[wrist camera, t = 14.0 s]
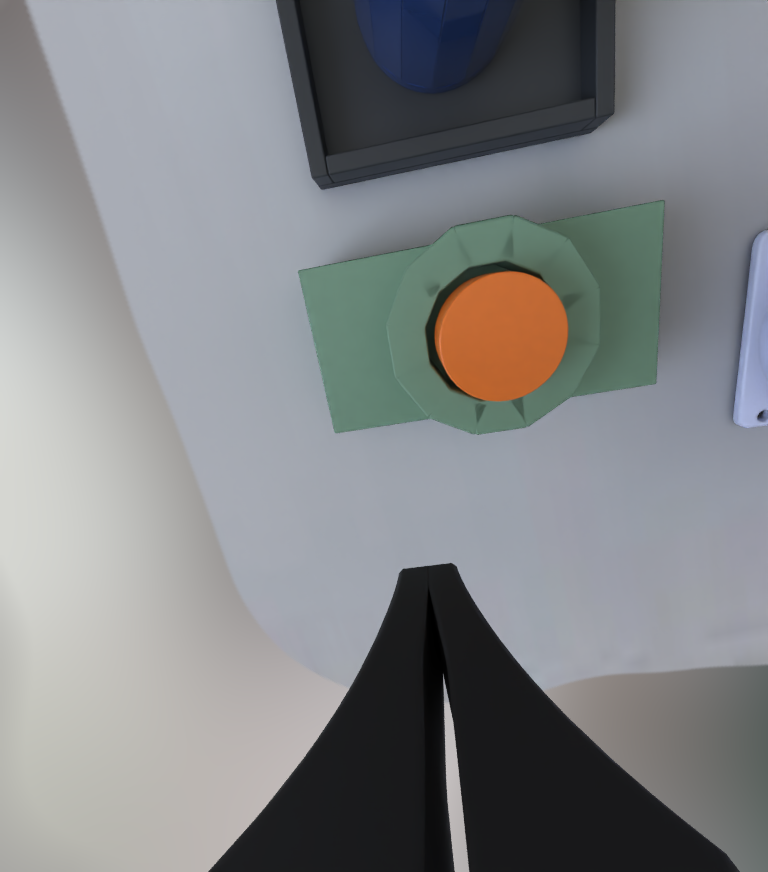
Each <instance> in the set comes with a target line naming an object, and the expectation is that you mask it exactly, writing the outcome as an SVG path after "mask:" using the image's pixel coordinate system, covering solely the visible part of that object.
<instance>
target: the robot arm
mask: <svg viewBox="0 0 768 872" xmlns="http://www.w3.org/2000/svg"><path fill="white" fill-rule="evenodd" d="M761 411H763V413H762V415H761V416H760V417H759V418H757V416H758V414H759V413H760V412H761ZM733 420H734V422H735V423H736V424H737V425H739V426H742V427H744V428H752V427H759V426H766V425H768V229H767V230H765V231H762V232H761V233H760V234H758V235H757V237H756V238H755V240H754V242H753V245H752V253H751V262H750V271H749V280H748V289H747V298H746V307H745V316H744V325H743V334H742V342H741V351H740V360H739V369H738V378H737V387H736V396H735V405H734V414H733ZM443 674H444V679H445V684H446V689H447V694H448V698H449V703H450V708H451V713H452V718H453V722H454V730H455V740H456V749H457V758H458V767H459V777H460V786H461V796H462V805H463V813H464V824H465V834H466V843H467V852H468V862H469V872H740V871H739V870H738V869H737V867H736V866H735V865H734V864H733V862H732V861H731V860H730V858H729V857H728V856H727V854H726V853H724V852H723V851H722V850H721V849H719V848H718V847H717V846H715V845H714V844H713V843H712V842H710V841H709V840H708V839H707V838H705V837H704V836H703V835H702V834H700V833H699V832H698V831H696V830H695V829H694V828H693V827H691V826H690V825H689V824H687V823H686V822H685V821H684V820H683V819H681V818H680V817H679V816H678V815H676V814H675V813H674V812H673V811H672V810H670V809H669V808H668V807H667V806H666V805H664V804H663V803H662V802H661V801H659V800H658V799H657V798H656V797H655V796H654V795H652V794H651V793H650V792H649V791H648V790H647V789H645V788H644V787H643V786H642V785H641V784H639V783H638V782H637V781H636V780H635V779H634V778H633V777H632V776H630V775H629V774H628V773H627V772H626V771H625V770H623V769H622V768H621V767H620V766H619V765H618V764H617V763H615V762H614V761H613V760H612V759H611V758H610V757H609V756H608V755H607V754H606V753H605V752H604V751H603V750H602V749H601V748H600V747H599V746H597V745H596V744H595V743H594V742H593V741H592V740H591V739H590V738H589V737H588V736H587V735H586V734H585V733H584V732H583V731H582V730H581V729H580V728H578V727H577V726H576V725H575V724H574V723H573V722H572V721H571V720H570V719H569V718H568V717H567V716H566V715H565V714H564V713H563V712H562V711H561V710H560V709H559V708H558V707H557V706H556V705H555V703H554V702H553V701H552V700H551V699H550V698H549V697H548V696H547V695H546V694H545V693H544V692H543V691H542V690H541V688H540V687H539V686H538V685H537V684H536V683H535V682H534V681H533V680H532V678H531V677H530V676H529V675H528V674H527V673H526V671H525V670H524V669H523V668H522V667H521V666H520V664H519V663H518V662H517V661H516V659H515V658H514V657H513V656H512V654H511V653H510V652H509V651H508V649H507V648H506V647H505V645H504V644H503V643H502V642H501V640H500V639H499V638H498V636H497V635H496V634H495V632H494V631H493V629H492V628H491V627H490V625H489V624H488V622H487V621H486V619H485V618H484V616H483V615H482V613H481V612H480V610H479V609H478V607H477V606H476V604H475V602H474V601H473V599H472V597H471V596H470V594H469V592H468V590H467V589H466V587H465V585H464V583H463V581H462V579H461V577H460V574H459V572H458V569H457V567H456V566H455V565H454V564H452V563H449V564H441V565H432V566H424V567H416V568H408V569H403V570H402V571H401V572H400V573H399V577H398V581H397V585H396V588H395V591H394V594H393V597H392V600H391V603H390V605H389V608H388V611H387V613H386V616H385V618H384V620H383V623H382V625H381V628H380V630H379V632H378V635H377V637H376V639H375V641H374V643H373V645H372V647H371V649H370V651H369V653H368V655H367V657H366V659H365V661H364V663H363V665H362V667H361V669H360V671H359V673H358V675H357V677H356V678H355V680H354V682H353V684H352V686H351V687H350V689H349V691H348V692H347V694H346V696H345V697H344V699H343V701H342V702H341V704H340V706H339V707H338V709H337V710H336V712H335V714H334V715H333V717H332V718H331V720H330V721H329V723H328V724H327V726H326V727H325V729H324V730H323V732H322V733H321V735H320V736H319V738H318V739H317V741H316V742H315V743H314V745H313V746H312V748H311V749H310V750H309V752H308V753H307V754H306V756H305V757H304V759H303V760H302V761H301V763H300V764H299V765H298V766H297V768H296V769H295V770H294V772H293V773H292V774H291V775H290V777H289V778H288V779H287V780H286V782H285V783H284V784H283V786H282V787H281V788H280V789H279V791H278V792H277V793H276V795H275V796H274V797H273V799H272V800H271V801H270V802H269V803H268V805H267V806H266V807H265V808H264V809H263V811H262V812H261V813H260V814H259V815H258V817H257V818H256V819H255V820H254V821H253V822H252V823H251V825H250V826H249V827H248V828H247V829H246V830H245V831H244V832H243V834H242V835H241V836H240V837H239V838H238V839H237V840H236V841H235V842H234V844H233V845H232V846H231V847H230V848H229V849H228V850H227V851H226V853H225V854H224V855H223V856H222V857H221V858H220V859H219V861H218V862H217V863H216V864H215V865H214V866H213V867H212V868H211V869H210V870H209V872H455V871H454V862H453V853H452V842H451V832H450V822H449V813H448V803H447V789H446V765H445V725H444V689H443Z"/></svg>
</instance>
